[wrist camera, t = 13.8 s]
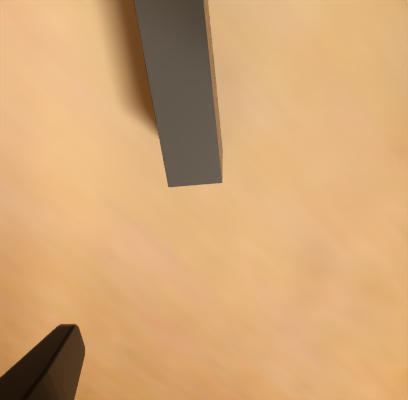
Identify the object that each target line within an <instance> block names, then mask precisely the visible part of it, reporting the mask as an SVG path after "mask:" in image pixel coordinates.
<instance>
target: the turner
mask: <svg viewBox="0 0 408 400" xmlns="http://www.w3.org/2000/svg"><path fill="white" fill-rule="evenodd" d="M134 4H135V9H136V15H137V20H138V26H139V31H140V36H141V42H142V47H143V53H144V58H145V63H146V69H147V74H148V80H149V85H150V90H151V96H152V101H153V107H154V112H155V117H156V123H157V128H158V134H159V139H160V144H161V150H162V155H163V161H164V166H165V171H166V177H167V182H168V187H177V186H189V185H201V184H213V183H222V154H223V150H222V139H221V129H220V119H219V109H218V98H217V88H216V78H215V68H214V57H213V47H212V37H211V27H210V16H209V6H208V0H134Z"/></svg>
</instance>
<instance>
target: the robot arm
mask: <svg viewBox="0 0 408 400" xmlns="http://www.w3.org/2000/svg"><path fill="white" fill-rule="evenodd" d="M84 356H85V345H84V342H83V339H82V336H81V333H80V330H79V327H78V326H77V325H76V324H61V325H59V326H57V327H56V328H55V329H54V330H53V331H52V332H50V333H49V334H48V335H47V336H46V337H45V338H44V339H43V340H42V341H40V342H39V343H38V344H37V345H36V346H35V347H34V348H33V349H32V350H30V351H29V352H28V353H27V354H26V355H25V356H24V357H23V358H21V359H20V360H19V361H18V362H17V363H16V364H15V365H14V366H13V367H11V368H10V369H9V370H8V371H7V372H6V373H5V374H4V375H3V376H1V377H0V400H74V398H75V394H76V390H77V386H78V382H79V377H80V373H81V369H82V365H83V361H84Z"/></svg>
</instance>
